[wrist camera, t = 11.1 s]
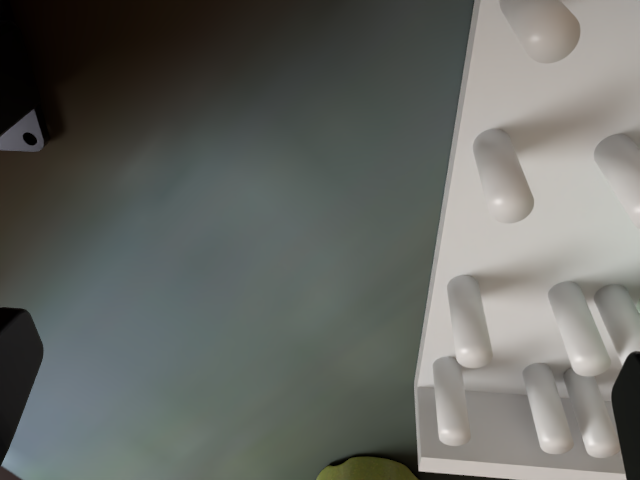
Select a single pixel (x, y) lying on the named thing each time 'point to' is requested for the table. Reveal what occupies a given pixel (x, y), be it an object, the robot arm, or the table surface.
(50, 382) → the table surface
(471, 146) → the dish rack
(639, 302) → the green square slab
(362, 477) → the plant pot
